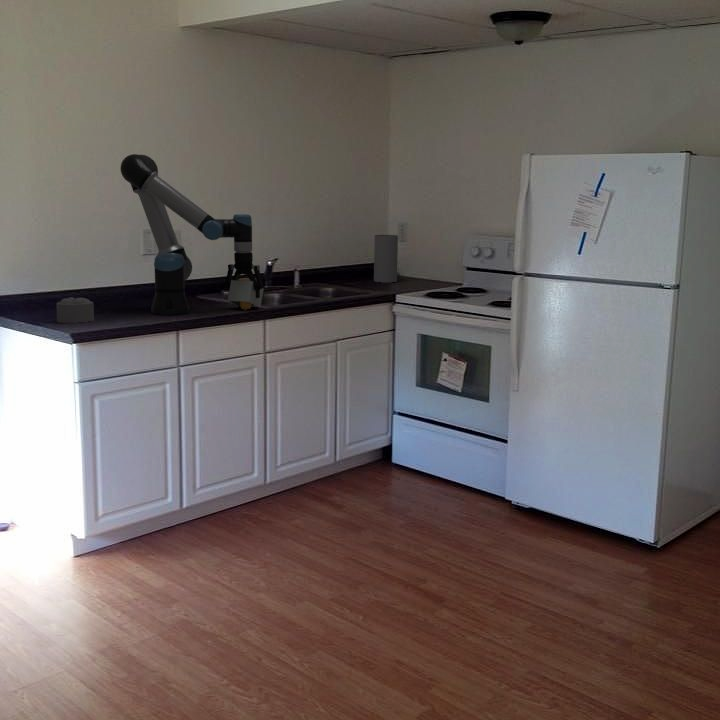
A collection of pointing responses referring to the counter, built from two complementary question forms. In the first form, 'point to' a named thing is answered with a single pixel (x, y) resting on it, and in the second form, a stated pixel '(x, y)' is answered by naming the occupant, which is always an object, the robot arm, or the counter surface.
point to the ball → (245, 305)
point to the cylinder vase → (385, 258)
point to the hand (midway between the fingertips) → (244, 305)
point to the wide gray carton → (243, 293)
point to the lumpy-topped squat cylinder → (75, 310)
